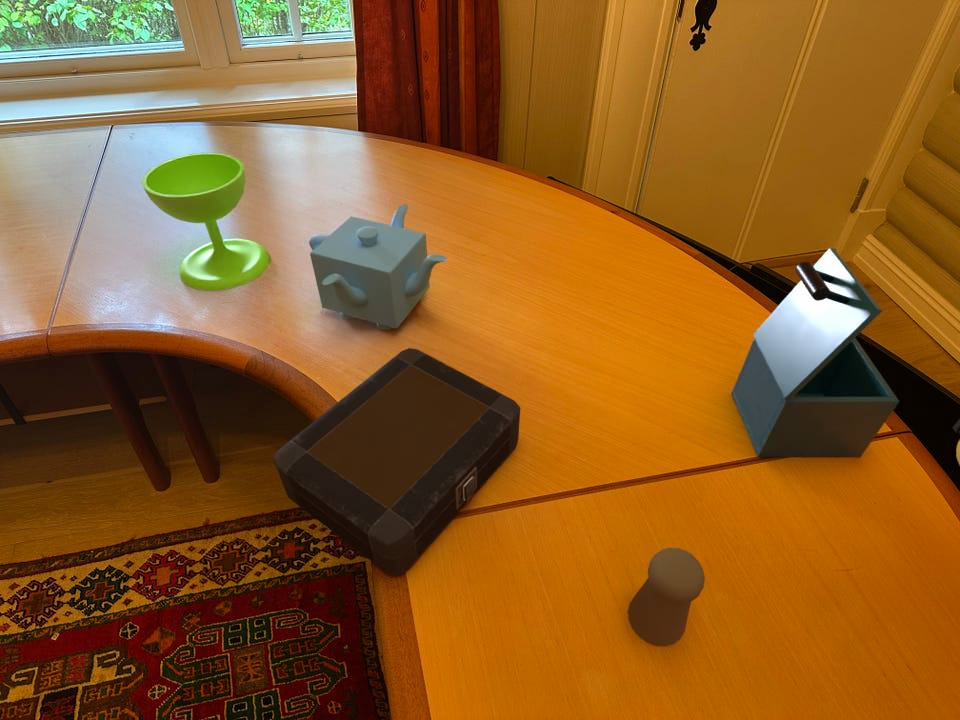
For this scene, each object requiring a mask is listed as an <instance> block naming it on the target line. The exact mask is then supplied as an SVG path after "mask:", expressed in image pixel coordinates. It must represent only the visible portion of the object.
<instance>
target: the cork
mask: <svg viewBox="0 0 960 720" xmlns="http://www.w3.org/2000/svg"><path fill="white" fill-rule="evenodd" d="M647 576H648V577H647V578H646V580H645V581H644V582H643V584H642V585H641V587H640V588H639V589H638V591H637V592H636V593H635V594H634V596H633V597H632V599H631V600H630V601H629V603H628V608H627V616H628V622H629V624H630V626H631V628H632V630H633V631H634V632H635V634H636V635H637V636H638V637H639V638H640V639H641V640H643V641H644V642H646V643H647V644H650V645H653V646H655V647H668V646H673V645H675V644H676V643H678V641H680V640H681V639H682V638H683V636H684V634H685V632H686V628H687V623H688V618H689V617H688V616H689V613H690V608H691V605H692V602H693V601H694V600H696V599H697V598H698V597H699V596H700V595H701V593H702V591H703V590H704V587H705V581H706V577H705V572H704V568H703V566H702V565H701V562H700V561H699V560H698V559H697V558H696V557H695V556H694V555H693V554H692V553H691V552H689V551H688V550H686V549H682V548H679V547H667V548H663V549H661V550H659V551H657V552H655V554H654V555H653V557H652V558H651V559H650V561H649V564H648V568H647Z"/></svg>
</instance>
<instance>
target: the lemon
mask: <svg viewBox="0 0 960 720" xmlns="http://www.w3.org/2000/svg"><path fill="white" fill-rule="evenodd" d="M955 451H956V455H955V456H956V460H957V463H958V465H959V466H960V439H959V440H958V442H957V445H956V450H955Z"/></svg>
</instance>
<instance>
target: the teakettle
mask: <svg viewBox="0 0 960 720" xmlns="http://www.w3.org/2000/svg"><path fill="white" fill-rule="evenodd" d="M408 209H409V205H408V204H407V203H402V204H400V205H399V206H398V207H397V208H396V209H395V211H394V213H393V216H392V219H391V222H390V224H387V223H382V222H377V221H373V220H370V219H366V218H365V219H364V218H360V217H355V216H350V217H348V219H346V220H345V221H344V222H343V223H342V224H341V225H339V226H338V227H337V228H336V229H335V230H334V231H332V233H330V234H323V233H320V234H319V233H317V234H314V235H312V236H311V237H310V238H309V239H308V244H309V245H308V246H309V247H310V248H311V250H312V251H310V252H309V256H310V260H311V265H312V269H313V273H314V277H315V283H316V287H317V290H318V295H319V299H320V300H319V301H320V304H321V308H322V309H325V310H329V311H332V312H335V313H339V315H340V317H341V318H342V319H346V320H349V319H350V320H351V319H354V318H357V319H361V320H364V321H368V322H371V323H375V324H377V327H378V328H379V329H380V330H391V329H398V328H399V327H400V325H401V324H402V323H403V322H404V320H405V319H406V318H407V317H408V316H409V314H410V313H411V311H412V310H413V309H414V308H415V307H416V306H417V304H418V303H419V302H420V300H421V299H422V298H423V297H424V296H425V294H426V293H427V292H428V290H429V289H430V287H431V286H430V279H431V276H432V271H433V268H434V267H435V265H437V264H440V263H443V262H447V261H448V257H446V256H444V255H441V254H430V255H428V245H427V235H426V233H424V232H422V231H417V230H414V229H413V230H412V229H408V228H405V217H406V214H407V211H408Z"/></svg>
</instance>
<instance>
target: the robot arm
mask: <svg viewBox="0 0 960 720" xmlns="http://www.w3.org/2000/svg"><path fill="white" fill-rule="evenodd" d="M952 429H953V431H954V432H955V434H958V435H960V418H959V419H958V420H957V421H956V422H955V424H954V425H953V426H952Z"/></svg>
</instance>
